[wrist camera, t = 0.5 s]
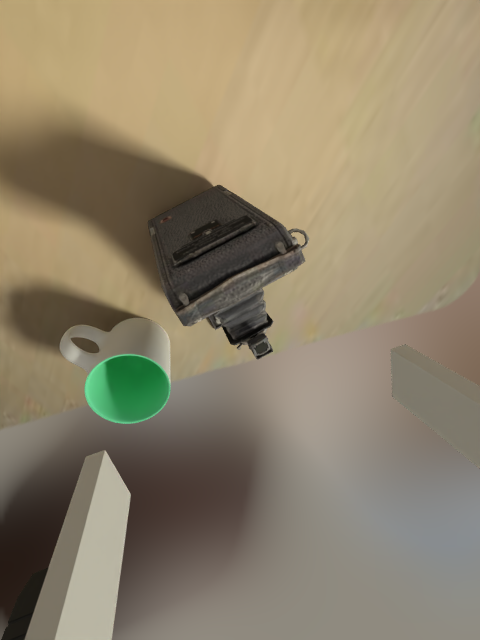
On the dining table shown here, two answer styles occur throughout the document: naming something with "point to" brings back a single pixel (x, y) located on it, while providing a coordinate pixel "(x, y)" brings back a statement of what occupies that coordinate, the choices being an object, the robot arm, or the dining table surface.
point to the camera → (223, 263)
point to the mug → (123, 368)
